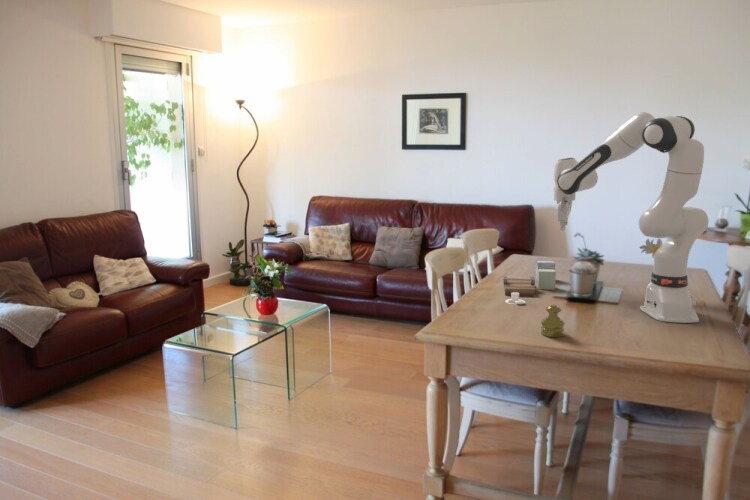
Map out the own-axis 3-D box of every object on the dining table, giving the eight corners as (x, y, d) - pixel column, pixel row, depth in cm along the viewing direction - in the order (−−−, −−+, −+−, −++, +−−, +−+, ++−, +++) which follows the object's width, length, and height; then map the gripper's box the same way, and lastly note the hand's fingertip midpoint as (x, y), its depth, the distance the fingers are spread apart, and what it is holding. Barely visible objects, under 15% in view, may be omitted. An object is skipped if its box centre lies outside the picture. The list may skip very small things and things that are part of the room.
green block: (554, 289, 251) (555, 271, 249) (538, 289, 252) (538, 271, 250) (553, 287, 255) (554, 269, 253) (537, 286, 256) (538, 269, 254)
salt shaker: (567, 333, 194) (569, 305, 193) (558, 339, 189) (559, 310, 187) (547, 329, 199) (548, 301, 197) (537, 334, 194) (538, 306, 192)
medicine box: (552, 279, 269) (553, 260, 268) (554, 281, 265) (555, 262, 263) (535, 278, 270) (536, 260, 268) (537, 281, 266) (537, 262, 264)
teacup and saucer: (525, 306, 228) (526, 296, 227) (505, 305, 229) (505, 295, 229) (524, 300, 236) (525, 290, 236) (504, 299, 238) (505, 290, 237)
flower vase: (686, 302, 228) (691, 243, 223) (637, 299, 234) (641, 241, 229) (680, 294, 239) (685, 237, 235) (634, 291, 245) (638, 236, 241)
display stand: (535, 296, 241) (536, 283, 240) (503, 295, 243) (504, 282, 242) (532, 285, 258) (532, 273, 257) (502, 284, 261) (503, 272, 260)
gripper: (569, 200, 237) (569, 233, 241) (574, 191, 255) (573, 222, 259) (554, 200, 240) (553, 232, 243) (559, 191, 258) (559, 222, 261)
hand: (564, 227), depth 251 cm, fingers open, 8 cm apart
